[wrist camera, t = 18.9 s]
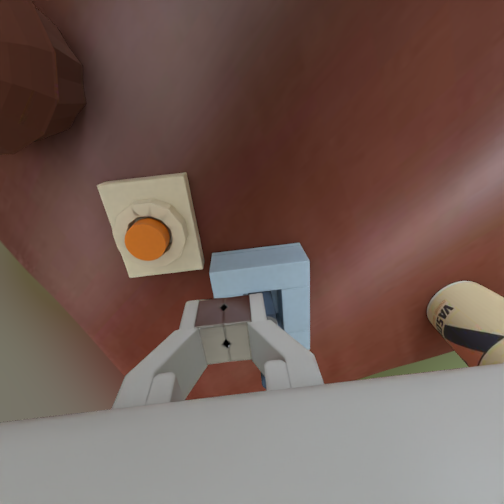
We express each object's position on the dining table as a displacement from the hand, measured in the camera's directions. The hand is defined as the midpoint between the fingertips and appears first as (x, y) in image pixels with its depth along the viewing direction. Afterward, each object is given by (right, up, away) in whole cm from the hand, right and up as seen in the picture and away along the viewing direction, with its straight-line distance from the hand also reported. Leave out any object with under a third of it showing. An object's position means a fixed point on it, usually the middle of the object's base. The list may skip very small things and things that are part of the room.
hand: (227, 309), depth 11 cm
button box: (-9, +5, +17) cm, 20 cm away
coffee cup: (+28, -5, +25) cm, 38 cm away
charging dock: (+2, -3, +22) cm, 22 cm away
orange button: (-9, +4, +15) cm, 17 cm away
